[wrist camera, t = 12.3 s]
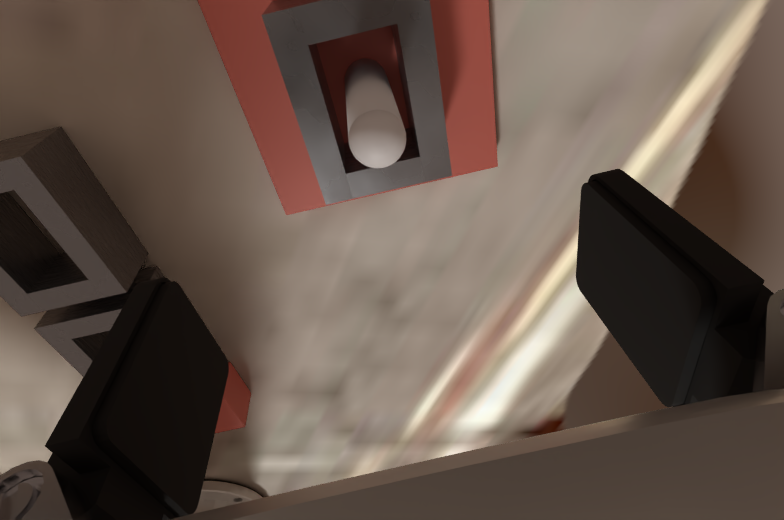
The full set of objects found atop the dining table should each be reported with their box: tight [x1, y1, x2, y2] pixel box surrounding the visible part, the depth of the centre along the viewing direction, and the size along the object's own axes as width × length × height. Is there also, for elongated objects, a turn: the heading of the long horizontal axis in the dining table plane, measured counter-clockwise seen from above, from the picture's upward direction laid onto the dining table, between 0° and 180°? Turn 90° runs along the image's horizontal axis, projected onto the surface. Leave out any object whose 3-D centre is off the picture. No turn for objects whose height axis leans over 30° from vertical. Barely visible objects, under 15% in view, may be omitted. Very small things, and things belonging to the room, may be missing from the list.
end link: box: [261, 0, 452, 205], centre depth 19 cm, size 8×6×4 cm
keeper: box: [198, 0, 498, 215], centre depth 18 cm, size 12×12×9 cm
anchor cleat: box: [215, 362, 251, 433], centre depth 32 cm, size 4×7×6 cm, turn 101°
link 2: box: [34, 266, 165, 377], centre depth 28 cm, size 8×6×4 cm
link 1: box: [0, 127, 148, 316], centre depth 23 cm, size 8×6×4 cm
